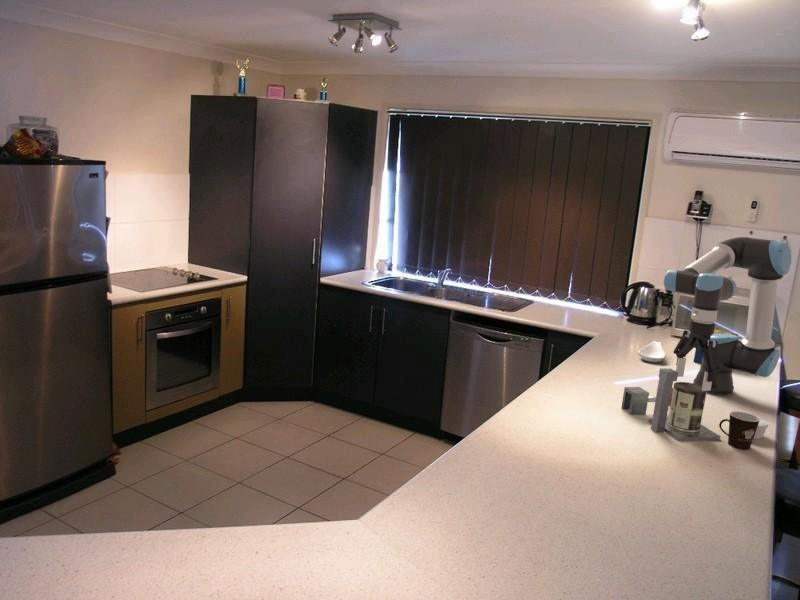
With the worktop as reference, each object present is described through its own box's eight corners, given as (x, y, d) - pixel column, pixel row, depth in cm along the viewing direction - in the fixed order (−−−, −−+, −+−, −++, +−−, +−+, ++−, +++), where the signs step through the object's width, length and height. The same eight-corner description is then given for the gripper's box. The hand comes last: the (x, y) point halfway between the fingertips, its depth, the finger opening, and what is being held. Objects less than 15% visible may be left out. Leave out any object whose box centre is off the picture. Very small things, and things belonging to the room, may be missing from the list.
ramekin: (764, 432, 227) (767, 418, 226) (766, 443, 217) (769, 428, 216) (728, 425, 232) (730, 410, 231) (728, 435, 222) (731, 420, 221)
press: (666, 408, 244) (676, 353, 239) (720, 439, 217) (731, 378, 213) (620, 408, 239) (628, 352, 235) (668, 440, 212) (679, 378, 208)
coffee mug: (751, 443, 216) (757, 414, 214) (756, 453, 208) (762, 423, 206) (712, 436, 220) (718, 407, 218) (715, 445, 212) (721, 416, 210)
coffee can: (696, 423, 227) (703, 384, 224) (703, 434, 217) (710, 393, 214) (664, 418, 229) (671, 379, 226) (670, 429, 219) (677, 389, 216)
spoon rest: (661, 366, 301) (664, 351, 299) (635, 361, 306) (637, 346, 305) (669, 355, 321) (671, 341, 320) (643, 350, 326) (646, 336, 325)
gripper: (668, 311, 226) (659, 371, 230) (719, 331, 202) (707, 396, 207) (687, 312, 228) (677, 370, 232) (740, 331, 204) (728, 396, 209)
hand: (692, 383), depth 220 cm, fingers open, 13 cm apart
